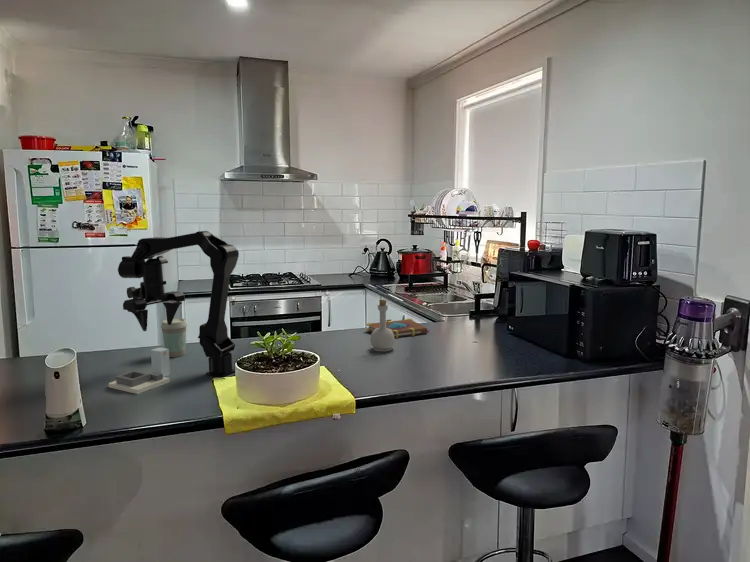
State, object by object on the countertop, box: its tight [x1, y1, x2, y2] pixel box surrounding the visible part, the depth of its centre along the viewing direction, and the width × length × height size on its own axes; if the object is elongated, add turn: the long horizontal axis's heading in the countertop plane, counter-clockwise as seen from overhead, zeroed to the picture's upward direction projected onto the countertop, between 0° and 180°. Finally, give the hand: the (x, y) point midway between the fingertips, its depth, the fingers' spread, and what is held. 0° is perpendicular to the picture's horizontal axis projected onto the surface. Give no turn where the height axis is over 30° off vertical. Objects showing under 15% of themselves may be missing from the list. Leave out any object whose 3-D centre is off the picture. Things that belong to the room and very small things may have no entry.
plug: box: [150, 347, 171, 377], centre depth 161 cm, size 4×3×8 cm
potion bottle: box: [369, 299, 396, 353], centre depth 189 cm, size 9×9×18 cm
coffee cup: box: [160, 317, 188, 358], centre depth 182 cm, size 8×9×12 cm
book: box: [365, 318, 431, 339], centre depth 215 cm, size 16×25×5 cm, turn 115°
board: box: [108, 370, 171, 395], centre depth 153 cm, size 12×11×3 cm
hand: (157, 327), depth 167 cm, fingers open, 9 cm apart
